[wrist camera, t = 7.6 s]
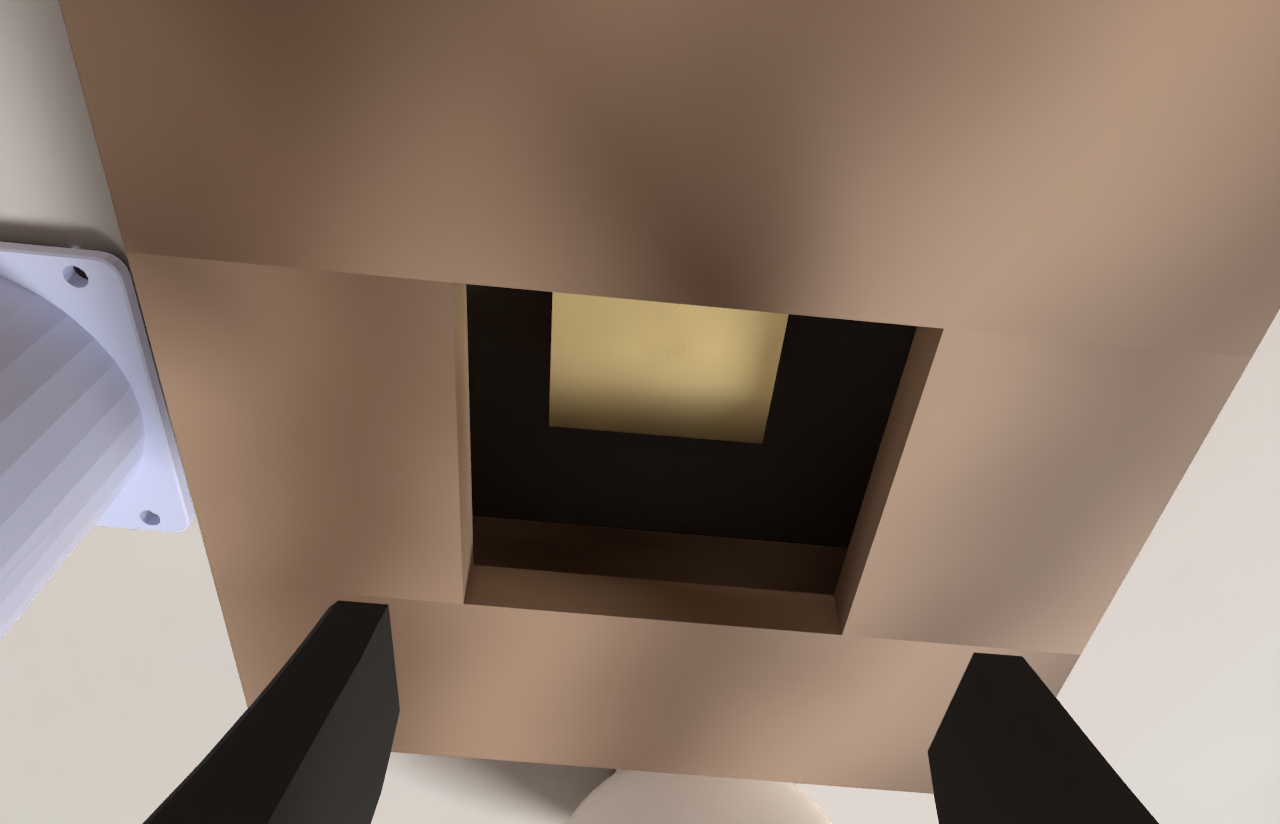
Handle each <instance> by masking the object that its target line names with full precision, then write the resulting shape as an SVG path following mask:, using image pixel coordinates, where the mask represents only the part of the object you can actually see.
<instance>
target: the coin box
mask: <svg viewBox="0 0 1280 824" xmlns="http://www.w3.org/2000/svg"><path fill="white" fill-rule="evenodd" d="M59 3H60V7H61V11H62V14H63V18H64V22H65V25H66V29H67V33H68V37H69V40H70V44H71V48H72V52H73V55H74V59H75V63H76V67H77V70H78V74H79V78H80V82H81V85H82V89H83V93H84V97H85V100H86V104H87V108H88V112H89V115H90V119H91V123H92V127H93V130H94V134H95V138H96V141H97V145H98V149H99V153H100V156H101V160H102V164H103V168H104V171H105V175H106V179H107V183H108V186H109V190H110V194H111V198H112V201H113V205H114V209H115V213H116V216H117V220H118V224H119V228H120V231H121V235H122V239H123V243H124V246H125V250H126V254H127V257H128V261H129V265H130V269H131V272H132V276H133V280H134V284H135V287H136V291H137V295H138V299H139V302H140V306H141V310H142V314H143V317H144V321H145V325H146V329H147V332H148V336H149V340H150V344H151V347H152V351H153V355H154V359H155V362H156V366H157V370H158V373H159V377H160V381H161V385H162V388H163V392H164V396H165V400H166V403H167V407H168V411H169V415H170V418H171V422H172V426H173V430H174V433H175V437H176V441H177V445H178V448H179V452H180V456H181V460H182V463H183V467H184V471H185V475H186V478H187V482H188V486H189V489H190V493H191V497H192V501H193V504H194V508H195V512H196V516H197V519H198V523H199V527H200V531H201V534H202V538H203V542H204V546H205V549H206V553H207V557H208V561H209V564H210V568H211V572H212V576H213V579H214V583H215V587H216V591H217V594H218V598H219V602H220V605H221V609H222V613H223V617H224V620H225V624H226V628H227V632H228V635H229V639H230V643H231V647H232V650H233V654H234V658H235V662H236V665H237V669H238V673H239V677H240V680H241V684H242V688H243V692H244V695H245V699H246V703H247V707H248V708H249V707H250V706H251V704H252V703H253V702H254V701H255V700H256V699H257V697H258V696H259V695H260V694H261V693H262V691H263V690H264V689H265V688H266V687H267V685H268V684H269V683H270V682H271V681H272V679H273V678H274V677H275V676H276V674H277V673H278V672H279V671H280V670H281V668H282V667H283V666H284V665H285V663H286V662H287V661H288V660H289V658H290V657H291V656H292V655H293V653H294V652H295V651H296V650H297V648H298V647H299V646H300V645H301V643H302V642H303V641H304V639H305V638H306V637H307V636H308V634H309V633H310V632H311V630H312V629H313V628H314V626H315V625H316V624H317V623H318V621H319V620H320V619H321V617H322V616H323V615H324V613H325V612H326V611H327V609H328V608H329V607H330V606H331V605H332V604H334V603H335V602H337V601H338V600H340V601H352V602H365V603H377V604H389V613H390V622H391V632H392V641H393V650H394V659H395V669H396V678H397V687H398V696H399V706H400V713H399V717H398V722H397V726H396V730H395V735H394V739H393V744H392V748H391V752H401V753H414V754H427V755H440V756H453V757H466V758H479V759H492V760H505V761H517V762H530V763H543V764H556V765H569V766H582V767H595V768H608V769H621V770H634V771H647V772H660V773H673V774H686V775H699V776H712V777H725V778H738V779H750V780H763V781H776V782H789V783H802V784H815V785H828V786H841V787H854V788H867V789H880V790H893V791H906V792H919V793H932V794H934V792H933V785H932V778H931V772H930V765H929V759H928V752H927V751H928V749H929V747H930V745H931V743H932V741H933V739H934V736H935V734H936V732H937V730H938V728H939V726H940V724H941V721H942V719H943V717H944V715H945V713H946V711H947V709H948V706H949V704H950V702H951V700H952V698H953V696H954V694H955V692H956V689H957V687H958V685H959V683H960V681H961V679H962V677H963V674H964V672H965V670H966V668H967V666H968V664H969V662H970V659H971V657H972V655H973V653H974V652H976V653H988V654H1001V655H1013V656H1023V658H1024V659H1025V660H1026V661H1027V662H1028V664H1029V665H1030V666H1031V667H1032V669H1033V670H1034V671H1035V672H1036V673H1037V675H1038V676H1039V677H1040V678H1041V680H1042V681H1043V682H1044V683H1045V685H1046V686H1047V687H1048V688H1049V690H1050V691H1051V692H1052V693H1053V695H1054V696H1055V697H1056V696H1057V695H1058V693H1059V691H1060V689H1061V688H1062V686H1063V684H1064V683H1065V681H1066V679H1067V677H1068V676H1069V674H1070V672H1071V670H1072V669H1073V667H1074V665H1075V663H1076V662H1077V660H1078V658H1079V656H1080V655H1081V653H1082V651H1083V650H1084V648H1085V646H1086V644H1087V643H1088V641H1089V639H1090V637H1091V636H1092V634H1093V632H1094V630H1095V629H1096V627H1097V625H1098V623H1099V622H1100V620H1101V618H1102V617H1103V615H1104V613H1105V611H1106V610H1107V608H1108V606H1109V604H1110V603H1111V601H1112V599H1113V597H1114V596H1115V594H1116V592H1117V590H1118V589H1119V587H1120V585H1121V584H1122V582H1123V580H1124V578H1125V577H1126V575H1127V573H1128V571H1129V570H1130V568H1131V566H1132V564H1133V563H1134V561H1135V559H1136V557H1137V556H1138V554H1139V552H1140V551H1141V549H1142V547H1143V545H1144V544H1145V542H1146V540H1147V538H1148V537H1149V535H1150V533H1151V531H1152V530H1153V528H1154V526H1155V524H1156V523H1157V521H1158V519H1159V518H1160V516H1161V514H1162V512H1163V511H1164V509H1165V507H1166V505H1167V504H1168V502H1169V500H1170V498H1171V497H1172V495H1173V493H1174V491H1175V490H1176V488H1177V486H1178V485H1179V483H1180V481H1181V479H1182V478H1183V476H1184V474H1185V472H1186V471H1187V469H1188V467H1189V465H1190V464H1191V462H1192V460H1193V458H1194V457H1195V455H1196V453H1197V452H1198V450H1199V448H1200V446H1201V445H1202V443H1203V441H1204V439H1205V438H1206V436H1207V434H1208V432H1209V431H1210V429H1211V427H1212V425H1213V424H1214V422H1215V420H1216V419H1217V417H1218V415H1219V413H1220V412H1221V410H1222V408H1223V406H1224V405H1225V403H1226V401H1227V399H1228V398H1229V396H1230V394H1231V392H1232V391H1233V389H1234V387H1235V386H1236V384H1237V382H1238V380H1239V379H1240V377H1241V375H1242V373H1243V372H1244V370H1245V368H1246V366H1247V365H1248V363H1249V361H1250V360H1251V358H1252V356H1253V354H1254V353H1255V351H1256V349H1257V347H1258V346H1259V344H1260V342H1261V340H1262V339H1263V337H1264V335H1265V333H1266V332H1267V330H1268V328H1269V327H1270V325H1271V323H1272V321H1273V320H1274V318H1275V316H1276V314H1277V313H1278V311H1279V309H1280V0H59ZM466 284H473V285H483V286H494V287H505V288H515V289H526V290H537V291H547V292H558V293H569V294H579V295H590V296H601V297H611V298H622V299H633V300H643V301H654V302H665V303H675V304H686V305H697V306H708V307H718V308H729V309H740V310H750V311H761V312H772V313H782V314H793V315H804V316H814V317H825V318H836V319H846V320H857V321H868V322H878V323H889V324H900V325H910V326H917V329H916V332H915V335H914V339H913V342H912V345H911V348H910V352H909V355H908V358H907V361H906V364H905V368H904V371H903V374H902V377H901V380H900V384H899V387H898V390H897V393H896V396H895V400H894V403H893V406H892V409H891V412H890V416H889V419H888V422H887V425H886V429H885V432H884V435H883V438H882V441H881V445H880V448H879V451H878V454H877V457H876V461H875V464H874V467H873V470H872V473H871V477H870V480H869V483H868V486H867V490H866V493H865V496H864V499H863V502H862V506H861V509H860V512H859V515H858V518H857V522H856V525H855V528H854V531H853V534H852V538H851V541H850V544H849V547H848V548H843V547H832V546H820V545H808V544H797V543H785V542H773V541H761V540H750V539H738V538H726V537H715V536H703V535H691V534H680V533H668V532H656V531H645V530H633V529H621V528H610V527H598V526H586V525H575V524H563V523H551V522H540V521H528V520H516V519H505V518H493V517H481V516H472V487H471V449H470V411H469V372H468V334H467V296H466Z"/></svg>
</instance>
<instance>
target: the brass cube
mask: <svg viewBox="0 0 1280 824" xmlns="http://www.w3.org/2000/svg"><path fill="white" fill-rule="evenodd" d="M788 315H789V314H782V313H772V312H761V311H750V310H740V309H729V308H718V307H708V306H697V305H686V304H675V303H665V302H654V301H643V300H633V299H622V298H611V297H601V296H590V295H579V294H569V293H558V292H553V296H552V332H551V368H550V403H549V426H555V427H567V428H579V429H591V430H603V431H615V432H627V433H640V434H652V435H664V436H676V437H688V438H700V439H712V440H724V441H736V442H748V443H760V444H762V443H763V438H764V433H765V428H766V423H767V418H768V413H769V408H770V403H771V399H772V394H773V389H774V384H775V379H776V374H777V369H778V364H779V359H780V355H781V350H782V345H783V340H784V335H785V330H786V325H787V320H788Z"/></svg>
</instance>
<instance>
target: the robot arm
mask: <svg viewBox="0 0 1280 824" xmlns="http://www.w3.org/2000/svg"><path fill="white" fill-rule="evenodd" d="M73 266H75V267H78V268H80V269H81V270H83V271H84V272H85V274H86V275H87V277H88V280H87V279H84V278H82V277H81V276H79V275H78V274H77V273H76V271H75V270H74V268H73ZM150 511H153V512H154V513H156V514H157V515H156V514H153V513H152V512H150ZM193 519H194V510H193V506H192V502H191V498H190V495H189V491H188V487H187V483H186V480H185V476H184V472H183V469H182V465H181V461H180V457H179V454H178V450H177V446H176V442H175V439H174V435H173V431H172V428H171V424H170V420H169V416H168V413H167V409H166V405H165V402H164V398H163V394H162V390H161V387H160V383H159V379H158V375H157V372H156V368H155V364H154V361H153V357H152V353H151V349H150V346H149V342H148V338H147V334H146V331H145V327H144V323H143V320H142V316H141V312H140V308H139V305H138V301H137V297H136V293H135V290H134V286H133V282H132V279H131V275H130V272H129V270H128V268H127V266H126V265H125V264H124V263H123V262H122V261H121V260H120V259H119V258H117V257H116V256H114V255H112V254H110V253H107V252H103V251H95V250H84V249H73V248H63V247H52V246H41V245H31V244H20V243H9V242H0V641H1V640H2V638H3V637H4V636H5V635H6V633H7V632H8V631H9V630H10V628H11V627H12V626H13V625H14V624H15V622H16V621H17V620H18V619H19V617H20V616H21V615H22V614H23V612H24V611H25V610H26V609H27V607H28V606H29V605H30V604H31V603H32V601H33V600H34V599H35V598H36V596H37V595H38V594H39V593H40V591H41V590H42V589H43V588H44V586H45V585H46V584H47V583H48V581H49V580H50V579H51V578H52V577H53V575H54V574H55V573H56V572H57V570H58V569H59V568H60V567H61V565H62V564H63V563H64V562H65V560H66V559H67V558H68V557H69V556H70V554H71V553H72V552H73V551H74V549H75V548H76V547H77V546H78V544H79V543H80V542H81V541H82V539H83V538H84V537H85V536H86V535H87V533H88V532H89V531H90V530H91V528H92V527H93V526H106V527H118V528H130V529H142V530H154V531H165V532H182V531H184V530H186V529H187V528H188V526H189V525H190V523H191V522H192V520H193ZM399 713H400V706H399V696H398V687H397V678H396V669H395V659H394V650H393V641H392V632H391V622H390V613H389V604H377V603H365V602H352V601H340V600H338V601H337V602H335V603H334V604H332V605H331V606H330V607H329V608H328V609H327V611H326V612H325V613H324V615H323V616H322V617H321V619H320V620H319V621H318V623H317V624H316V625H315V626H314V628H313V629H312V630H311V632H310V633H309V634H308V636H307V637H306V638H305V639H304V641H303V642H302V643H301V645H300V646H299V647H298V648H297V650H296V651H295V652H294V653H293V655H292V656H291V657H290V658H289V660H288V661H287V662H286V663H285V665H284V666H283V667H282V668H281V670H280V671H279V672H278V673H277V674H276V676H275V677H274V678H273V679H272V681H271V682H270V683H269V684H268V685H267V687H266V688H265V689H264V690H263V691H262V693H261V694H260V695H259V696H258V697H257V699H256V700H255V701H254V702H253V703H252V704H251V706H250V707H249V708H248V709H247V710H246V711H245V712H244V714H243V715H242V716H241V717H240V718H239V719H238V721H237V722H236V723H235V724H234V725H233V726H232V727H231V729H230V730H229V731H228V732H227V733H226V734H225V735H224V737H223V738H222V739H221V740H220V741H219V742H218V743H217V745H216V746H215V747H214V748H213V749H212V750H211V751H210V753H209V754H208V755H207V756H206V757H205V758H204V759H203V760H202V761H201V763H200V764H199V765H198V766H197V767H196V768H195V769H194V770H193V771H192V772H191V773H190V774H189V775H188V776H187V778H186V779H185V780H184V781H183V782H182V783H181V784H180V785H179V786H178V787H177V788H176V789H175V790H174V791H173V792H172V793H171V794H170V795H169V796H168V797H167V799H166V800H165V801H164V802H163V803H162V804H161V805H160V806H159V807H158V808H157V809H156V810H155V811H154V812H153V813H152V814H151V815H150V816H149V817H148V818H147V820H146V821H145V822H144V823H143V824H371V821H372V818H373V815H374V812H375V809H376V806H377V803H378V800H379V797H380V794H381V790H382V786H383V782H384V778H385V774H386V770H387V765H388V761H389V757H390V753H391V748H392V744H393V739H394V735H395V730H396V726H397V722H398V717H399ZM927 752H928V759H929V765H930V772H931V778H932V785H933V792H934V798H935V804H936V809H937V815H938V820H939V824H1159V823H1158V822H1157V821H1156V820H1155V818H1154V817H1153V816H1152V815H1151V814H1150V813H1149V811H1148V810H1147V809H1146V808H1145V807H1144V805H1143V804H1142V803H1141V802H1140V801H1139V800H1138V798H1137V797H1136V796H1135V795H1134V794H1133V792H1132V791H1131V790H1130V789H1129V788H1128V786H1127V785H1126V784H1125V783H1124V782H1123V780H1122V779H1121V778H1120V777H1119V775H1118V774H1117V773H1116V772H1115V771H1114V769H1113V768H1112V767H1111V766H1110V764H1109V763H1108V762H1107V761H1106V760H1105V758H1104V757H1103V756H1102V755H1101V753H1100V752H1099V751H1098V750H1097V748H1096V747H1095V746H1094V745H1093V743H1092V742H1091V741H1090V740H1089V739H1088V737H1087V736H1086V735H1085V734H1084V732H1083V731H1082V730H1081V729H1080V727H1079V726H1078V725H1077V724H1076V722H1075V721H1074V720H1073V719H1072V717H1071V716H1070V715H1069V714H1068V712H1067V711H1066V710H1065V709H1064V707H1063V706H1062V705H1061V703H1060V702H1059V701H1058V700H1057V698H1056V697H1055V696H1054V695H1053V693H1052V692H1051V691H1050V690H1049V688H1048V687H1047V686H1046V685H1045V683H1044V682H1043V681H1042V680H1041V678H1040V677H1039V676H1038V675H1037V673H1036V672H1035V671H1034V670H1033V669H1032V667H1031V666H1030V665H1029V664H1028V662H1027V661H1026V660H1025V659H1024V658H1023V656H1013V655H1001V654H988V653H976V652H974V653H973V655H972V657H971V659H970V662H969V664H968V666H967V668H966V670H965V672H964V674H963V677H962V679H961V681H960V683H959V685H958V687H957V689H956V692H955V694H954V696H953V698H952V700H951V702H950V704H949V706H948V709H947V711H946V713H945V715H944V717H943V719H942V721H941V724H940V726H939V728H938V730H937V732H936V734H935V736H934V739H933V741H932V743H931V745H930V747H929V749H928V751H927Z"/></svg>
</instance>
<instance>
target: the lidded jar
mask: <svg viewBox="0 0 1280 824" xmlns="http://www.w3.org/2000/svg"><path fill="white" fill-rule="evenodd" d="M566 824H833V823H832V822H831V821H830V819H829V818H828V817H827V816H826V814H825V813H824V812H823V811H822V810H821V808H820V807H819V806H818V805H817V804H816V803H815V801H814V800H813V799H812V798H811V797H810V796H809V795H808V794H807V793H805V792H804V791H803V790H802V789H801V788H799V787H798V786H797V785H796V784H794V783H789V782H776V781H763V780H750V779H738V778H725V777H712V776H699V775H686V774H673V773H660V772H647V771H634V770H621V769H616V770H615V772H614V774H613V775H612V776H611V777H609V778H607V779H606V780H605V781H604V782H602V783H601V784H600V785H599V786H598V787H597V788H596V789H594V790H593V791H592V792H591V793H590V794H589V795H588V796H587V797H586V798H585V799H584V800H583V801H582V802H581V804H580V805H579V806H578V808H577V809H576V810H575V811H574V813H573V814H572V815H571V817H570V818H569V820H568V821H567V822H566Z"/></svg>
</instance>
